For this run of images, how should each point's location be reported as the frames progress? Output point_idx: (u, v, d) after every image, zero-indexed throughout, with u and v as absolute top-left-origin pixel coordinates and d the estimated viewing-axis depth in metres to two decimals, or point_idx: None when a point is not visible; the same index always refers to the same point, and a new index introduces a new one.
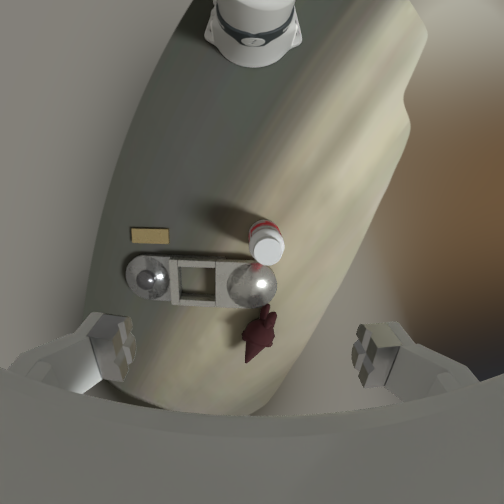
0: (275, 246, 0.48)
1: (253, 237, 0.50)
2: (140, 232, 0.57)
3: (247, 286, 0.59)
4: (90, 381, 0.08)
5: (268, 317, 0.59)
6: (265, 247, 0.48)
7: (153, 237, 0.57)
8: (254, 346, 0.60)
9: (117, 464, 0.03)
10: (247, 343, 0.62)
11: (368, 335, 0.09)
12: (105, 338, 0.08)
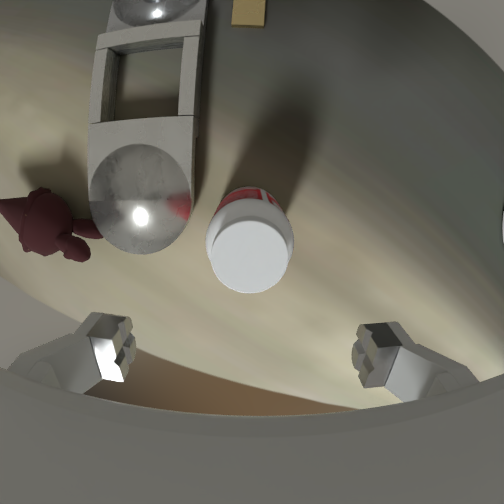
0: (264, 276, 0.18)
1: (275, 211, 0.19)
2: None
3: (134, 189, 0.24)
4: (90, 381, 0.08)
5: (77, 245, 0.23)
6: (263, 251, 0.17)
7: None
8: (19, 219, 0.22)
9: (117, 464, 0.03)
10: (24, 202, 0.22)
11: (368, 335, 0.09)
12: (105, 338, 0.08)
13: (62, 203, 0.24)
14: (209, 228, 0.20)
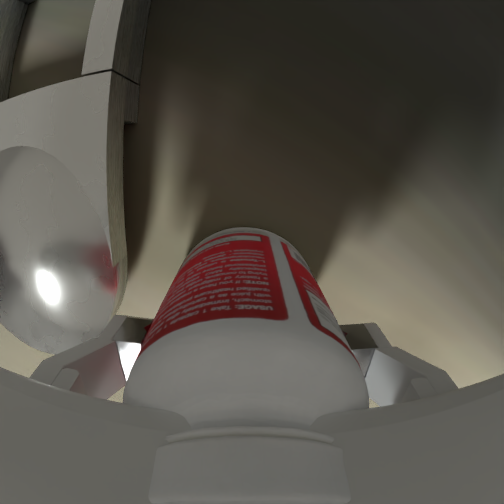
0: None
1: (334, 368, 0.05)
2: None
3: (16, 240, 0.10)
4: (115, 386, 0.08)
5: None
6: None
7: None
8: None
9: (117, 464, 0.03)
10: None
11: None
12: (133, 342, 0.08)
13: None
14: (124, 400, 0.06)
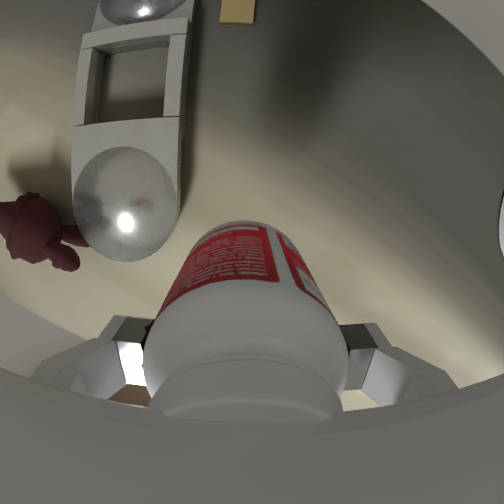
0: None
1: (315, 319, 0.07)
2: None
3: (119, 194, 0.23)
4: (115, 386, 0.08)
5: (66, 253, 0.22)
6: None
7: None
8: (7, 225, 0.20)
9: (117, 464, 0.03)
10: (12, 207, 0.21)
11: (343, 336, 0.09)
12: (133, 342, 0.08)
13: (51, 209, 0.23)
14: (145, 352, 0.07)
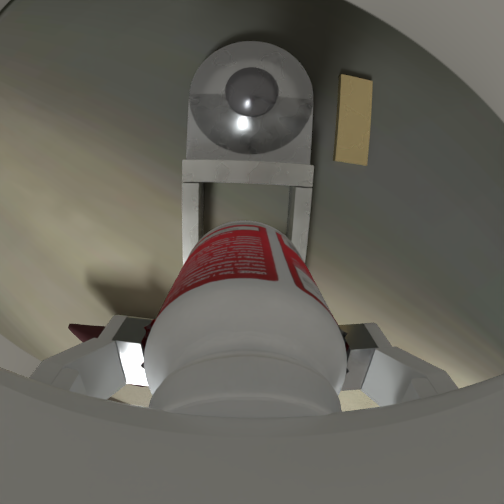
0: None
1: (313, 317, 0.07)
2: (364, 100, 0.22)
3: None
4: (115, 386, 0.08)
5: None
6: None
7: (351, 127, 0.23)
8: None
9: (117, 464, 0.03)
10: None
11: (343, 336, 0.09)
12: (133, 342, 0.08)
13: None
14: (146, 350, 0.07)
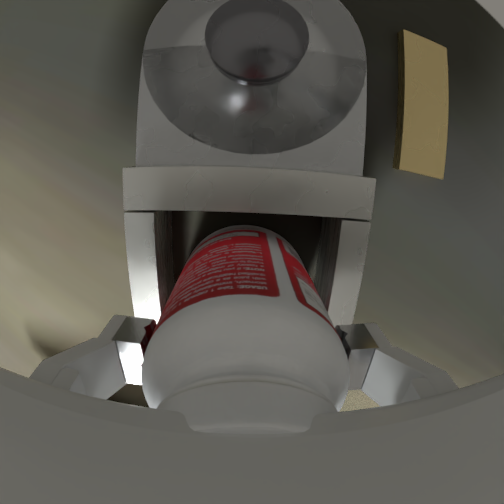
0: None
1: (316, 335, 0.07)
2: (439, 74, 0.11)
3: None
4: (115, 386, 0.08)
5: None
6: None
7: (423, 114, 0.12)
8: None
9: (117, 464, 0.03)
10: None
11: (343, 336, 0.09)
12: (132, 342, 0.08)
13: None
14: (144, 367, 0.07)
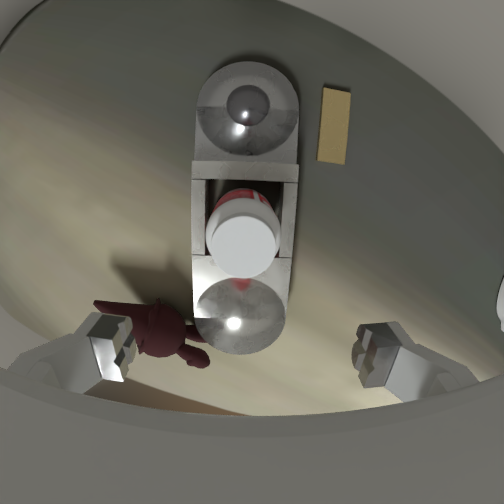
0: (256, 263, 0.21)
1: (265, 209, 0.23)
2: (343, 109, 0.27)
3: (239, 311, 0.31)
4: (90, 381, 0.08)
5: (202, 357, 0.31)
6: (254, 242, 0.21)
7: (331, 132, 0.28)
8: (138, 332, 0.29)
9: (117, 464, 0.03)
10: (140, 315, 0.30)
11: (368, 335, 0.09)
12: (105, 338, 0.08)
13: (179, 316, 0.32)
14: (208, 223, 0.23)
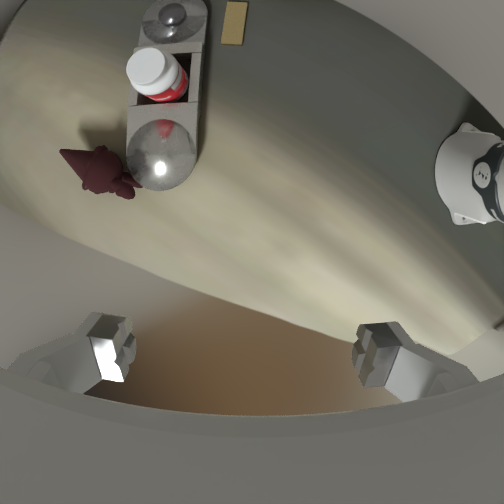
0: (152, 73, 0.26)
1: (166, 52, 0.28)
2: (241, 12, 0.32)
3: (158, 148, 0.37)
4: (90, 381, 0.08)
5: (128, 187, 0.36)
6: (152, 60, 0.26)
7: (232, 26, 0.33)
8: (84, 164, 0.34)
9: (117, 464, 0.03)
10: (89, 153, 0.35)
11: (368, 335, 0.09)
12: (105, 338, 0.08)
13: (118, 159, 0.37)
14: None
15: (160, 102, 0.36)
